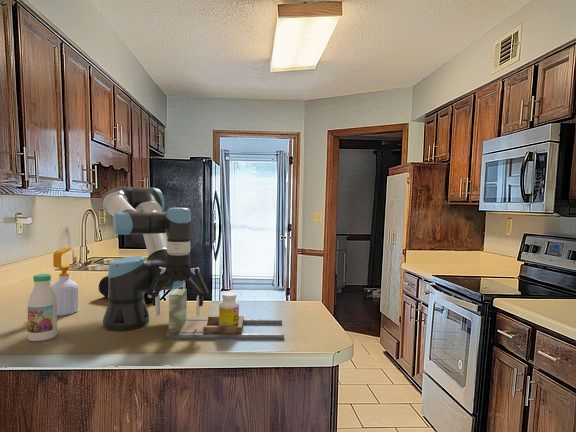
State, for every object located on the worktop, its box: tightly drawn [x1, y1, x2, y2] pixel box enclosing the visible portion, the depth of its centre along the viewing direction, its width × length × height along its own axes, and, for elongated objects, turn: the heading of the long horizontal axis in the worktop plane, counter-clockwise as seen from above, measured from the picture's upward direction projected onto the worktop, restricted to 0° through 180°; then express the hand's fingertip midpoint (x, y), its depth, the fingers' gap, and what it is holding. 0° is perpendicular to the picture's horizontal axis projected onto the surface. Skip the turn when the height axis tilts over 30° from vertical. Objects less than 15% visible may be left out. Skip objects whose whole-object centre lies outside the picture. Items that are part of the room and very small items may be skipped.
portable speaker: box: [98, 275, 160, 304], centre depth 159 cm, size 26×10×10 cm, turn 72°
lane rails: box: [165, 318, 285, 340], centre depth 126 cm, size 38×15×2 cm, turn 94°
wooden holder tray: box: [165, 288, 245, 335], centre depth 125 cm, size 24×11×13 cm, turn 94°
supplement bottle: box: [218, 291, 240, 326], centre depth 126 cm, size 7×7×13 cm
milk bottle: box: [27, 273, 58, 342], centre depth 116 cm, size 8×8×20 cm
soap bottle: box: [51, 247, 79, 317], centre depth 140 cm, size 9×9×25 cm
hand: (177, 315), depth 125 cm, fingers open, 13 cm apart
